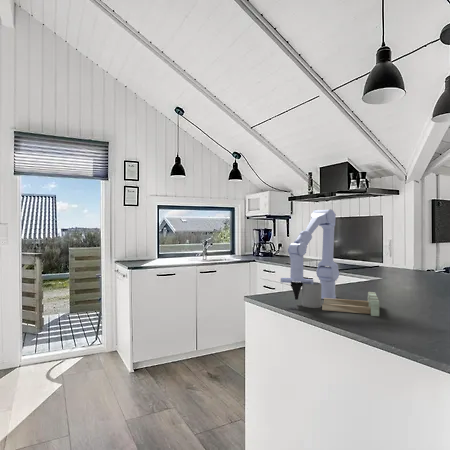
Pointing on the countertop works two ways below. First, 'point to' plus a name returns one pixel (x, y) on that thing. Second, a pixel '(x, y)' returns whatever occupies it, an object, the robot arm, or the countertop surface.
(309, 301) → the cup
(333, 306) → the wooden tray
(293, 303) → the countertop surface
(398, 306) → the countertop surface
